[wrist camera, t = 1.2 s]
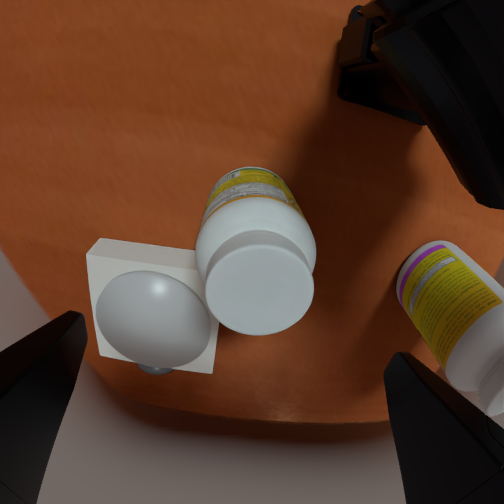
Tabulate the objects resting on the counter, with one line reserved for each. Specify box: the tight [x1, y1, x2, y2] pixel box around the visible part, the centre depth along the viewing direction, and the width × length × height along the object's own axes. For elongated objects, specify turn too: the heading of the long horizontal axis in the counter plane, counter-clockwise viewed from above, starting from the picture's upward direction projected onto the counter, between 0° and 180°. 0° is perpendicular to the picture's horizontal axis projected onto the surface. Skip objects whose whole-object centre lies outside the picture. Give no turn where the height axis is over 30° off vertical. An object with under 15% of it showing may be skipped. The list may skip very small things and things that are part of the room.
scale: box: [86, 238, 219, 375], centre depth 22 cm, size 9×10×4 cm
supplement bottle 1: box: [195, 167, 316, 335], centre depth 16 cm, size 5×5×10 cm
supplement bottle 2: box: [396, 241, 504, 416], centre depth 17 cm, size 7×7×13 cm
